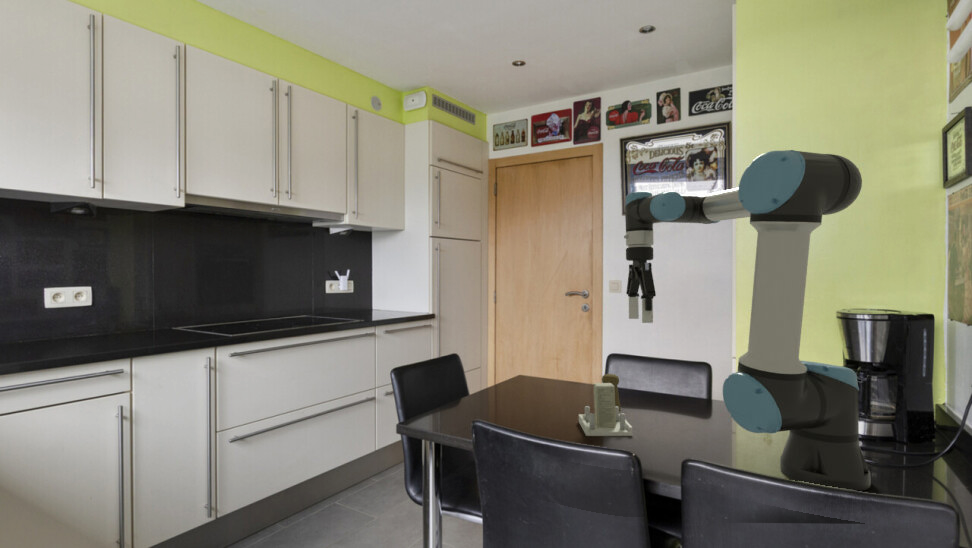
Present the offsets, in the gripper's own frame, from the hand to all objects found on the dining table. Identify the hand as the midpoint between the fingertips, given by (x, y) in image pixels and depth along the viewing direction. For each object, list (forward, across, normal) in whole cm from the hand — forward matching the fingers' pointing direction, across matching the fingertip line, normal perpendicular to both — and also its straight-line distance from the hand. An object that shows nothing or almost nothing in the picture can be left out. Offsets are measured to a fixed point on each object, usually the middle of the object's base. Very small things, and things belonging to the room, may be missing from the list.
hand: (640, 320), depth 137 cm
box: (+28, +7, -12) cm, 31 cm away
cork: (+29, -12, -6) cm, 32 cm away
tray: (+29, +7, -12) cm, 32 cm away
